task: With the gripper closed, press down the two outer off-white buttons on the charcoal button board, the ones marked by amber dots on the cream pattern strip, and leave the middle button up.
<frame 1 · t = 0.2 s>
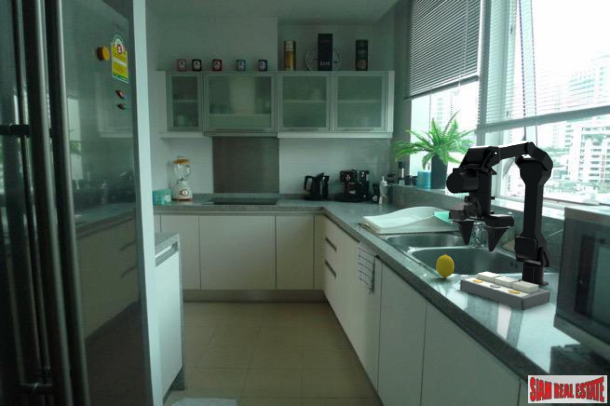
hand: (478, 248, 105), 14 cm above the counter, tool pointing down, fingers open, 9 cm apart
lemon: (444, 279, 123), on the counter
button b: (506, 283, 107), point 3 cm above the counter, slide at 0.0 cm
button c: (525, 288, 102), point 3 cm above the counter, slide at 0.0 cm
board: (502, 295, 107), on the counter
button a: (488, 278, 112), point 3 cm above the counter, slide at 0.0 cm
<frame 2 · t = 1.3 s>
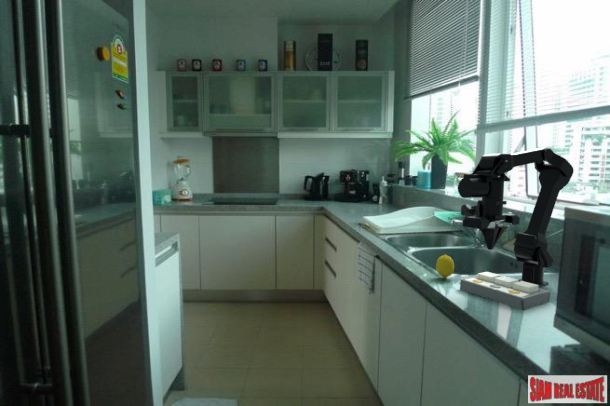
hand: (490, 249, 111), 12 cm above the counter, tool pointing down, fingers closed
nothing on the counter moved.
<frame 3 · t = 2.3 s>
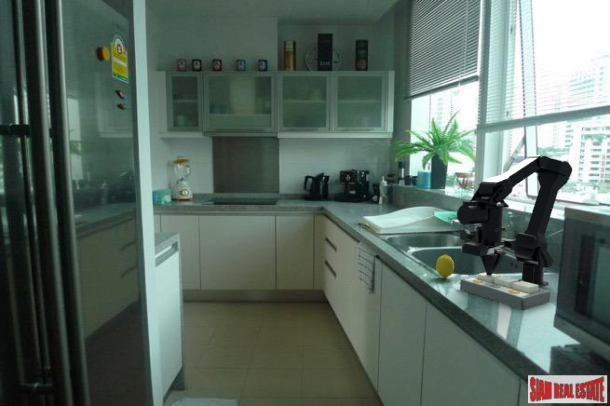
hand: (489, 274, 112), 4 cm above the counter, tool pointing down, fingers closed, pressing on button a
button a: (488, 279, 112), point 3 cm above the counter, slide at 0.2 cm, touching gripper
everything else where it was.
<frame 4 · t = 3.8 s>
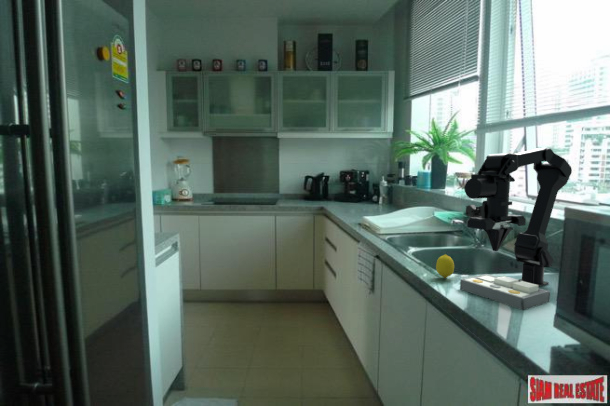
hand: (495, 250, 110), 12 cm above the counter, tool pointing down, fingers closed
button a: (488, 282, 112), point 2 cm above the counter, slide at 1.2 cm
everything else where it was.
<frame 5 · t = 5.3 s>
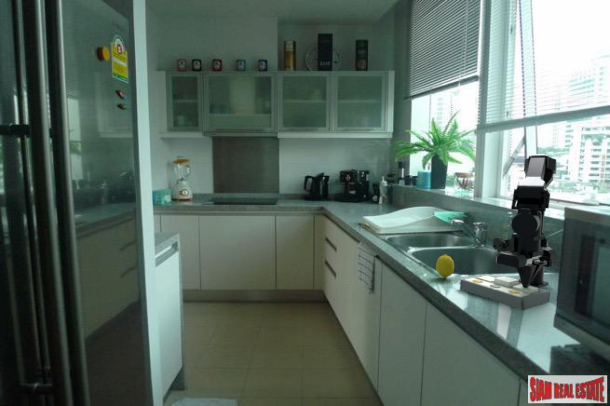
hand: (525, 287, 102), 4 cm above the counter, tool pointing down, fingers closed, pressing on button c
button c: (525, 291, 103), point 2 cm above the counter, slide at 0.9 cm, touching gripper
everything else where it was.
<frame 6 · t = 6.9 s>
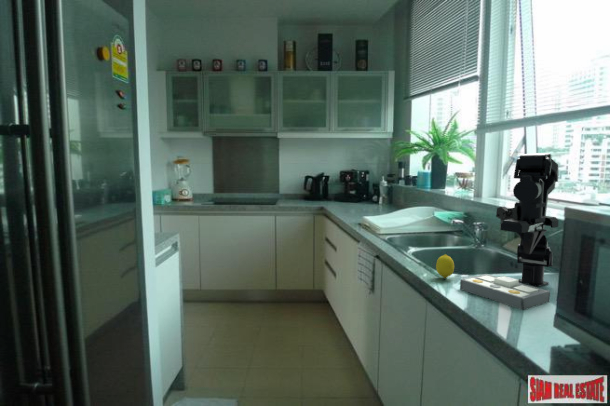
hand: (528, 253, 107), 12 cm above the counter, tool pointing down, fingers closed
button c: (525, 293, 103), point 2 cm above the counter, slide at 1.2 cm
everything else where it was.
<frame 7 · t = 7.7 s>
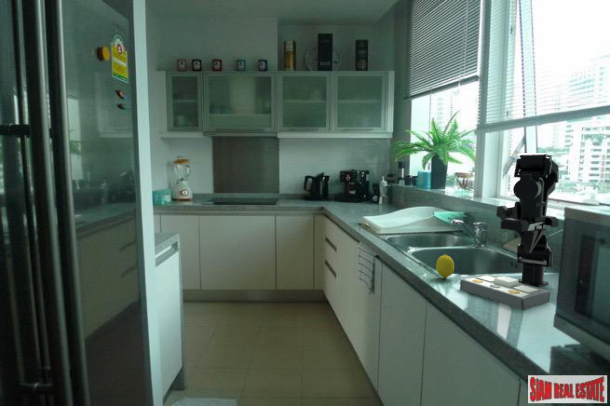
hand: (528, 252, 107), 12 cm above the counter, tool pointing down, fingers closed
nothing on the counter moved.
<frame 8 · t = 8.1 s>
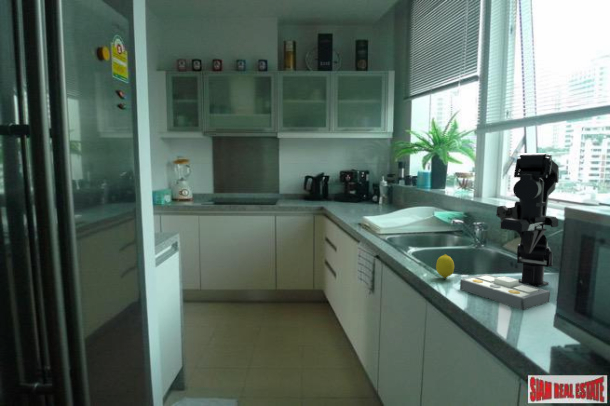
hand: (528, 252, 107), 12 cm above the counter, tool pointing down, fingers closed
nothing on the counter moved.
at the end: button a slide at 1.2 cm; button c slide at 1.2 cm; button b slide at 0.0 cm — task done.
